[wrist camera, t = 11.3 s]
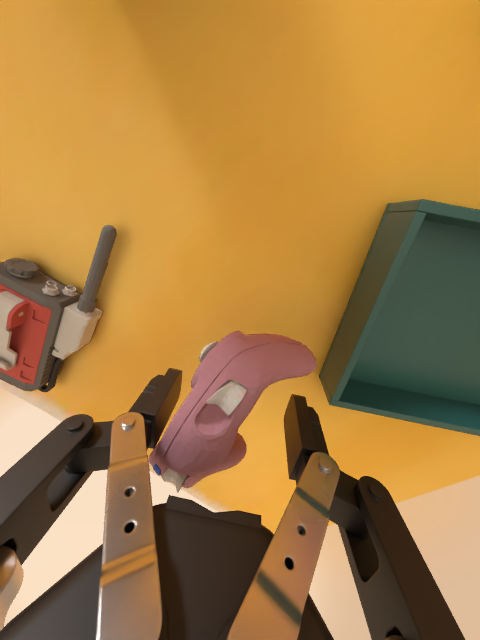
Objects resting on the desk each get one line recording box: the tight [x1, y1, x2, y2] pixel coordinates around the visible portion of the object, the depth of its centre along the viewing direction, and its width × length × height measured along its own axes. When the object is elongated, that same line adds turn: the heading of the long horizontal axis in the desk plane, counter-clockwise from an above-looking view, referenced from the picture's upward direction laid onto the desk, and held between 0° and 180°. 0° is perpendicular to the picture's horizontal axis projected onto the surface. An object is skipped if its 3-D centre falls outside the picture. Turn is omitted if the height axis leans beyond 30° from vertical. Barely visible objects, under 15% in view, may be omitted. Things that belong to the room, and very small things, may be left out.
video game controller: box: [149, 331, 317, 492], centre depth 12 cm, size 10×5×7 cm, turn 153°
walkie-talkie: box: [0, 225, 117, 392], centre depth 20 cm, size 9×4×20 cm
